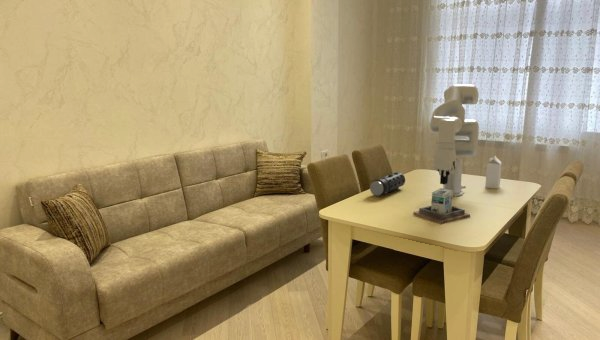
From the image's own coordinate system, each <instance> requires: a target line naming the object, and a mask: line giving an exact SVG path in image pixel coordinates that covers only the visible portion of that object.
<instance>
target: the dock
mask: <svg viewBox="0 0 600 340" xmlns="http://www.w3.org/2000/svg"><path fill="white" fill-rule="evenodd" d="M413 216H415V217H418V218H421V219H424V220H427V221H430V222H432V223H434V224H435V223H436V224H437V225H438V224H439V225H445V224H448V223H454V222H457V221H461V220H465V219H468V218H470V217H471V213H467V212H466V210H465V209H463V208H461V207H457V206H453V205H452V212H449V213H445V214H438V213H435V212H432V211H431V205H430V206H429V205H428V206H424V207H419V208H418V210H417V211H413Z"/></svg>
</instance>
